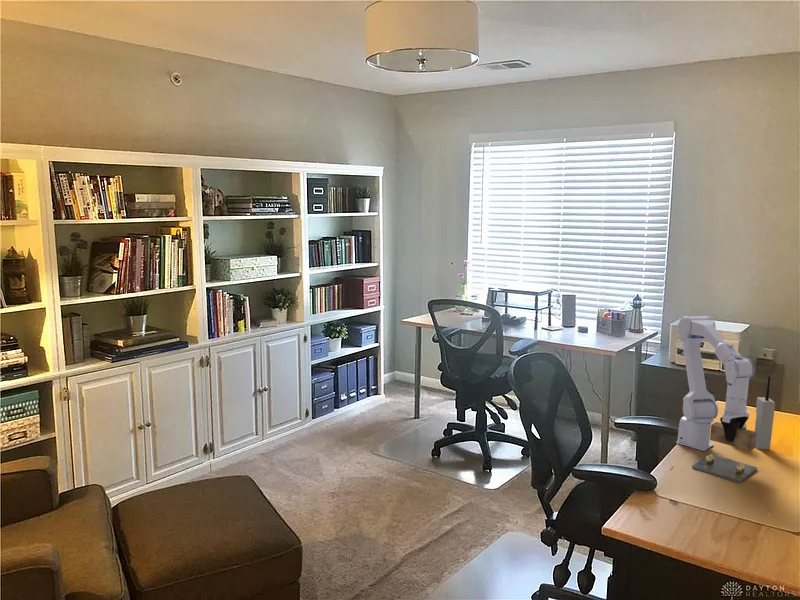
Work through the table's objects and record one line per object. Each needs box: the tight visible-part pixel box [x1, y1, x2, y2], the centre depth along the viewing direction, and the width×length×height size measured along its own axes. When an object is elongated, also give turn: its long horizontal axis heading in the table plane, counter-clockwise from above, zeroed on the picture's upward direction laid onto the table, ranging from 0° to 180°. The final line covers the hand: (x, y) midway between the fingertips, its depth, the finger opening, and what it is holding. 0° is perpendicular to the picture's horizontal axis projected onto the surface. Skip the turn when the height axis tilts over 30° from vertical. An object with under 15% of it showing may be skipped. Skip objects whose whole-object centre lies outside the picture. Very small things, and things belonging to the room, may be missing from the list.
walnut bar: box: [709, 421, 757, 452], centre depth 203 cm, size 12×4×5 cm, turn 43°
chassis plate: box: [691, 453, 758, 484], centre depth 202 cm, size 14×14×3 cm
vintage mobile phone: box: [754, 375, 776, 451], centre depth 218 cm, size 4×5×25 cm
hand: (732, 439), depth 203 cm, fingers closed on walnut bar, 4 cm apart
